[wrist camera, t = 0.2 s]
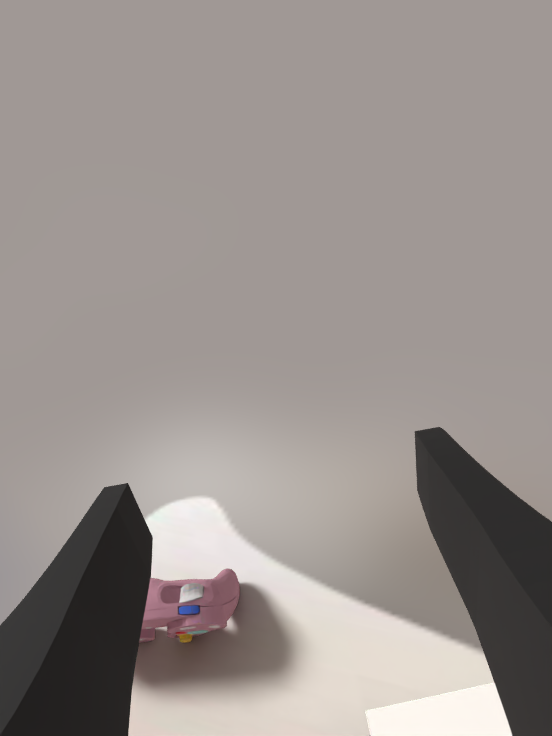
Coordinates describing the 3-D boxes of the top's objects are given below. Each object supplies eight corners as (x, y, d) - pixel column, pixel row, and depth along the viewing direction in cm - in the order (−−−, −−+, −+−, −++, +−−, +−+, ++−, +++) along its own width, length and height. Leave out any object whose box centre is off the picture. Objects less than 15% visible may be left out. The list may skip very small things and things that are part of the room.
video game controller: (101, 663, 35) (45, 657, 29) (106, 589, 37) (56, 570, 31) (248, 645, 34) (221, 635, 28) (244, 571, 36) (218, 547, 31)
